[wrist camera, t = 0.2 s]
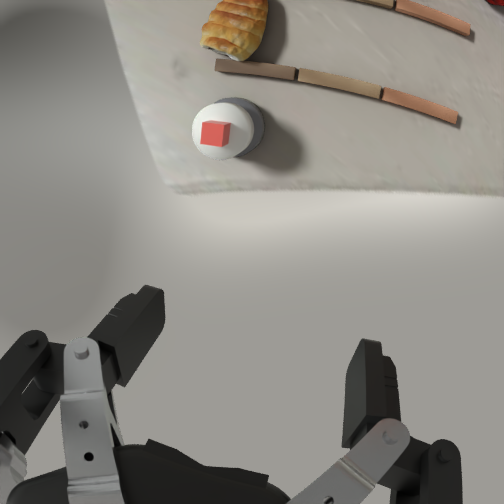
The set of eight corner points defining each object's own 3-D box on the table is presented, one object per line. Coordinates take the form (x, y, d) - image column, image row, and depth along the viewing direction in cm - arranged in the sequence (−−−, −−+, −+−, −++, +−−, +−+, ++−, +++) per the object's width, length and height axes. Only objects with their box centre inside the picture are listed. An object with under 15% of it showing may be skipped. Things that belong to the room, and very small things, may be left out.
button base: (211, 94, 35) (204, 94, 33) (268, 101, 34) (265, 102, 32) (205, 149, 38) (199, 152, 37) (260, 158, 37) (256, 162, 36)
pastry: (231, -16, 28) (220, -26, 24) (284, -1, 27) (278, -13, 24) (201, 49, 32) (187, 44, 29) (252, 66, 32) (243, 62, 28)
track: (232, -24, 27) (229, -27, 26) (466, 26, 23) (470, 24, 22) (217, 71, 33) (214, 70, 32) (452, 123, 30) (455, 124, 29)
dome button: (204, 99, 32) (186, 101, 28) (257, 106, 31) (246, 107, 27) (198, 151, 35) (181, 159, 31) (250, 159, 34) (238, 169, 30)
